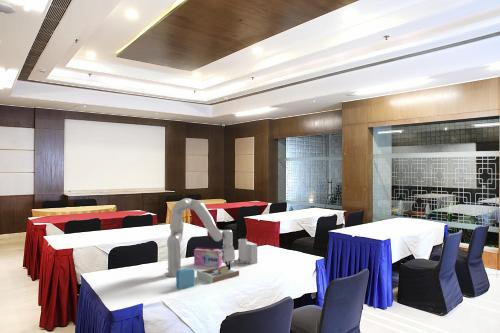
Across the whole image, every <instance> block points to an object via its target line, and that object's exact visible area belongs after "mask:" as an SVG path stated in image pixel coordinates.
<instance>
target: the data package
mask: <svg viewBox="0 0 500 333" xmlns="http://www.w3.org/2000/svg"><path fill="white" fill-rule="evenodd" d="M195 274H196V273H195V269H194V268H192V267H186V268H183V269H182V268H181V270H178V271H177V272H176V277H175V278H176V279H175V280H176V283H175V286H176V288H178V289H179V290H183V289H187V288H191V287H194V286H195V284H196V283H195V282H196V280H195V279H196V278H195Z"/></svg>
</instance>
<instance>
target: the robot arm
mask: <svg viewBox="0 0 500 333" xmlns="http://www.w3.org/2000/svg"><path fill="white" fill-rule="evenodd" d="M206 206H207V205H206V203H205V202H204V201H202V200H197V199H192V198H189V197H188V198H187V197H185V198H183V199H181V200H179V201H177V202H175V204H174V205H173V207H172V209H171V216H170V222H169V223H170V224H169V229H170V235H169V236H168V238H167V241H166V242H167V243H166V244H167V268H166V270H167V272H166V275H165V276H167V277H169V278H176V272H177V271H178V270H182V268H181V266H182V264H181V262H182V260H181V259H182V258H181V257H182V256H181V255H182V254H181V242H182V240H183V234H184V226H185V225H184V224H185V223H184V221H183V216H184V215H183V213H184V211H187V210H191V211H194V212H195V213H196V215H197V216H198V218H199V219H200V220H201V222H202V223H203V226H204V227H205V229H206V231H207V232H208V233H209V235H210V237H211V238H212V239H213V241H215V242H220V241H222V246H221V249H222V264H225V266H226V267H228V270H231V265H232V262H234V260H236V252H235V248H234V245H233V244H234V243H233V239H234V238H233V231H232V229H219V228H218V227H217V226H216V223H215V221H214V218H213V216H212V214H211V213H210V212H209V210H208V209H207V207H206Z"/></svg>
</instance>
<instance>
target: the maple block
mask: <svg viewBox="0 0 500 333" xmlns="http://www.w3.org/2000/svg"><path fill="white" fill-rule="evenodd" d="M227 272H228V267H226V265H221V266H219V267H218V273H221V274H223V273H227Z"/></svg>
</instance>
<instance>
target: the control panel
mask: <svg viewBox="0 0 500 333" xmlns="http://www.w3.org/2000/svg"><path fill="white" fill-rule="evenodd" d="M237 241H238V245H237V246H238V248H237V249H238V258H237V259H234V261H233V262H235V263H236V262H238V263H239V264H250V265H252V264H254V265H255V264H258V243H254V242H251V241H248V239H247V238H239V239H238V240H237Z"/></svg>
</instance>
